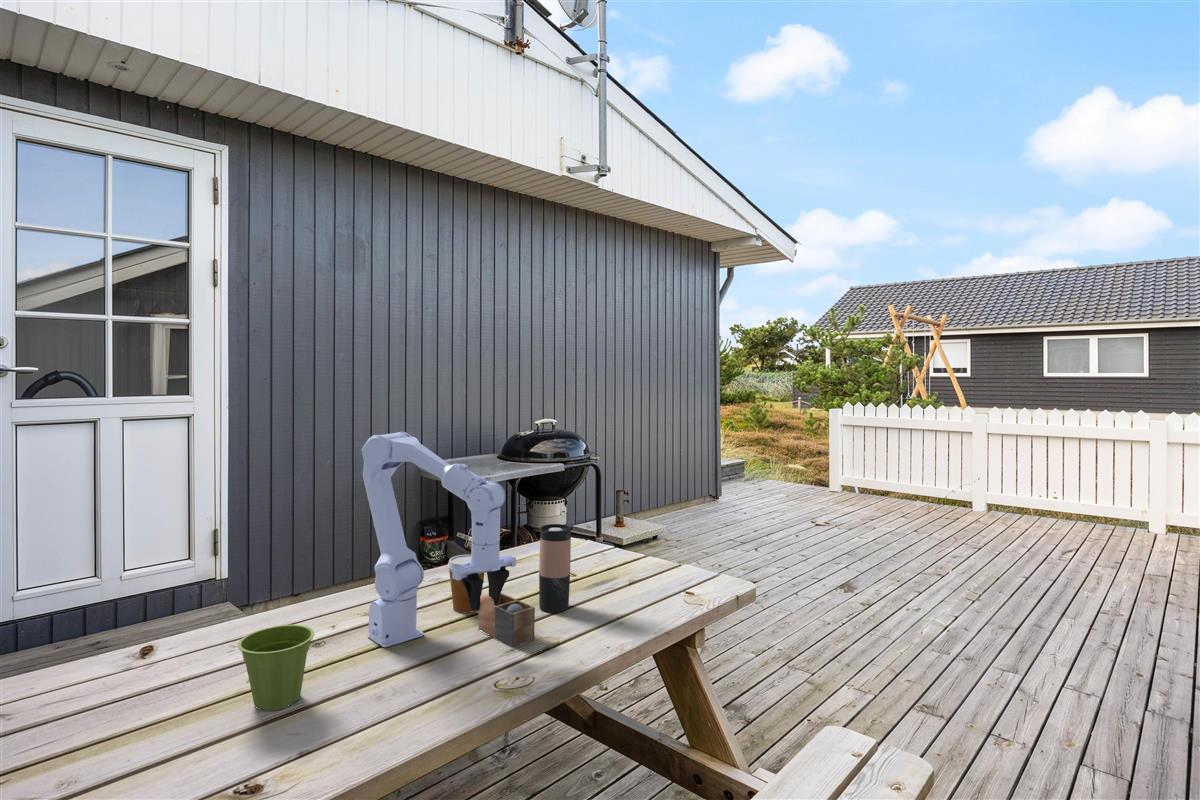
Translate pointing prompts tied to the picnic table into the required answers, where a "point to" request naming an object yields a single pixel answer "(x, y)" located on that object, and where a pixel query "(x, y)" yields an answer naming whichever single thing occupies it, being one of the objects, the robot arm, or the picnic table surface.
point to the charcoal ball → (514, 608)
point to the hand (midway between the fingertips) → (484, 606)
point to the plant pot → (276, 664)
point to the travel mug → (554, 568)
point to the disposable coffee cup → (460, 584)
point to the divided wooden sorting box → (509, 622)
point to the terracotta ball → (486, 605)
